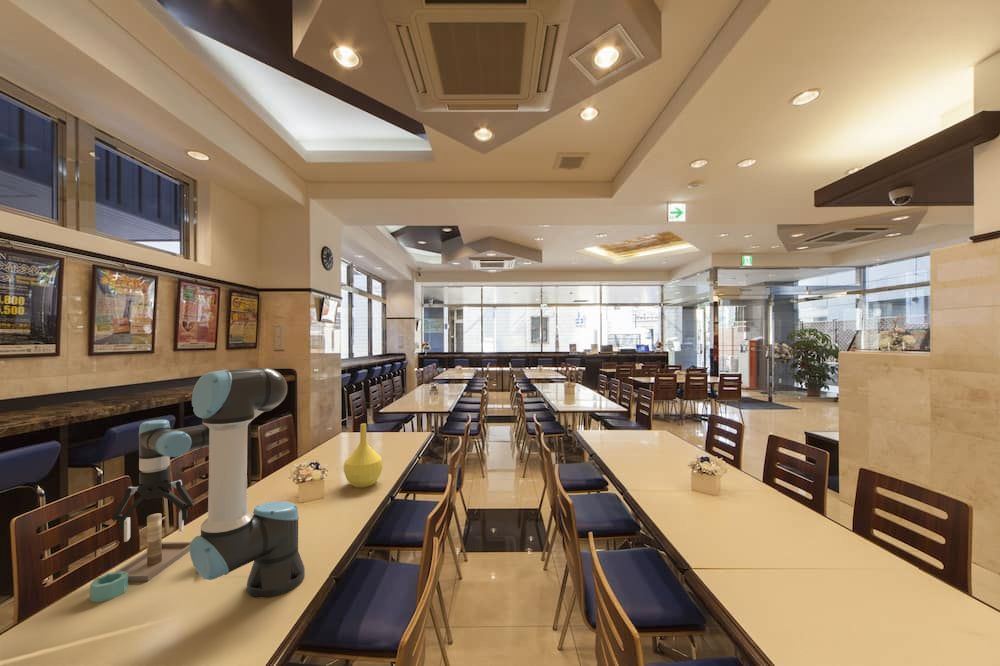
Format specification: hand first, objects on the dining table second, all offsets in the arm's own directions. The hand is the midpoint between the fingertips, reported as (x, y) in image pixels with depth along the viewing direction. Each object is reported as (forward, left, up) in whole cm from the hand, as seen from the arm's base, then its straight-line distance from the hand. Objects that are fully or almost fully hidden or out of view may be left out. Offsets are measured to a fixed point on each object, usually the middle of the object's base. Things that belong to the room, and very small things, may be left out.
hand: (154, 534), depth 130 cm
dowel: (0, 0, -9) cm, 9 cm away
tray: (0, 0, -10) cm, 10 cm away
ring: (-14, +7, -10) cm, 18 cm away
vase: (+42, -71, -10) cm, 83 cm away
